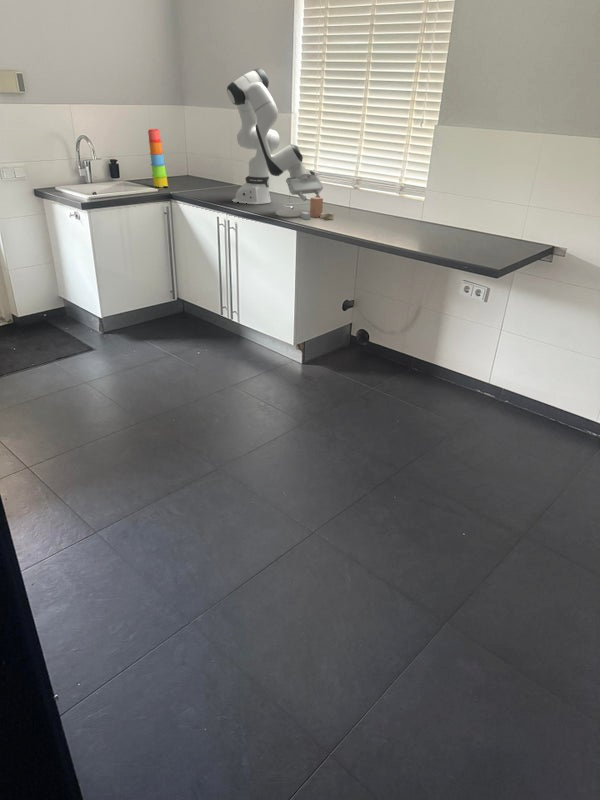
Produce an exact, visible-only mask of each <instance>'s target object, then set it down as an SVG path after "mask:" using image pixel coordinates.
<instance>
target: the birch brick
mask: <svg viewBox="0 0 600 800" xmlns="http://www.w3.org/2000/svg"><path fill="white" fill-rule="evenodd" d="M334 216H335V215H334V213H333V212H322V213H321V216H320V217H319V218H321V219H333V220H334ZM321 219H320V220H321Z"/></svg>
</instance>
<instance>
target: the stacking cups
mask: <svg viewBox="0 0 600 800" xmlns="http://www.w3.org/2000/svg"><path fill="white" fill-rule="evenodd" d="M147 134H148V144H149V150H150V151H149V154H150V161H151V164H150V166H151V169H152V170H151V171H152V175H151V177H152V182H153V186H157V187H158V186H159V187H163V186H169V185H168V174H167V171H166V163H165V159H164V158H165V157H164V152H163V145H162V140H161V133H160V130H159V129H158V128H152V129H148V131H147Z"/></svg>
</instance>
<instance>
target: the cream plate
mask: <svg viewBox="0 0 600 800" xmlns="http://www.w3.org/2000/svg"><path fill="white" fill-rule="evenodd" d="M300 212H304V211H302V210H299V209H280V210H276V211H275V215H276V216H277V215H278V216H277V217H281V216H282V217H283V218H300Z"/></svg>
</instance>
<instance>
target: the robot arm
mask: <svg viewBox="0 0 600 800" xmlns="http://www.w3.org/2000/svg"><path fill="white" fill-rule="evenodd" d="M268 87H269V78H268V75H267V73H266V72H265V71H264V69H262V68H261V67H260V68H259V67H258V68H255V69H252V71H249V72H246V73H245V74H243V75H242V76H241V75H240V77H238V78H237V79H236V80H234V81H231V82H230V83H229V84H228V85H227V88H226V92H227V93H226V94H227V97H228V99H229V101H231V103H232V104H233V105H235V106H236V108H237V109H238V114H239V118H240V119H241V127H240V129H239V130H238V132H237V135H236V140H237V143H238V145H239V146H240V148H244V149H246V150H254V151H255V150H256V152H255V155H254V157H252V158H250V160H249V162H248V175H247V176H246V177H245V179H244V180H245V183H244V184H243V185H242V186H240V187H239V188H238V189H237V191H236V195H235V198H233V199H232V201H233V202H232V203H237V202H239V204H246V203H247V204H248V205H260V204H261V205H262V204H270V203H272V200H271V196H270V176H269V174H270V175H271V176H274V177H279V176H281V175H282V174H283V173H285V172H286V171H287V172H288V173H289V177H287V179H286V180H285V183H286V184H287V187H288V190H289V193H290V195H293V196H295V195H297V196H298V197H299V198H300V199H301V201H303V202H304V201H306V200H307V197H306V195H307V194H308V195H309V194H315V197H319V198H321V195H320V193H321V191H323V188H324V187H323V186H324V185H323V183H322V182H321V180H320V179H319V177H318V176H317V173H316V171H312V170H309V169H307V168H306V166H304V163H303V159H304V157H303V155H302V153H301V152H300V151H301V150H300V149H299V147H298V145H294V144H289V145H287V146H286V147H284V148H282V149H280V150H279V151H277V152H276V153H274V151H275V150H276V149H277V148H279V145H280V135H279V133H278V131H277V130H275V129H272V128H273V126H274V124H275V123H276V121H277V119H278V117H279V116H278V115H279V110H278V107H277V105H276V104H277V103H276V102H275V100H274V98H273V97H272V94H271V93H270V92H269V90H268ZM273 153H274V154H273ZM305 194H306V195H305ZM247 204H246V205H247Z"/></svg>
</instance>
